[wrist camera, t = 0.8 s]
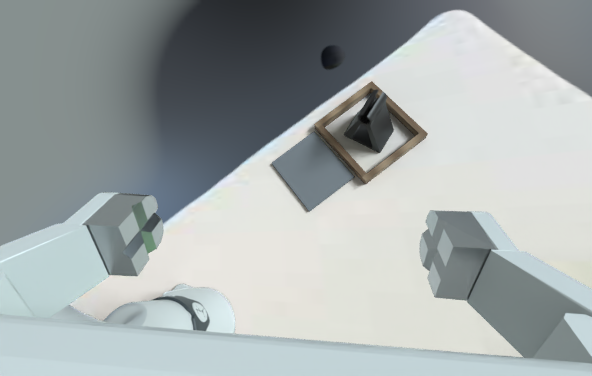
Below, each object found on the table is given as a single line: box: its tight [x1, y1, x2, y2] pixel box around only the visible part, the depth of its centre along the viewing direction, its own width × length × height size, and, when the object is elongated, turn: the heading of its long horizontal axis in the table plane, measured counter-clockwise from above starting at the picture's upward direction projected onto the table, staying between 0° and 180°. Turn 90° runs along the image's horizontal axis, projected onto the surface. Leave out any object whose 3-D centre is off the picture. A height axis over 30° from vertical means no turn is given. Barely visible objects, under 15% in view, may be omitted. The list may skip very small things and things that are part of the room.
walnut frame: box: [314, 82, 428, 184], centre depth 67 cm, size 16×17×2 cm
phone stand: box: [344, 89, 394, 153], centre depth 62 cm, size 9×6×12 cm, turn 57°
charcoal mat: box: [272, 132, 354, 212], centre depth 67 cm, size 12×14×1 cm
